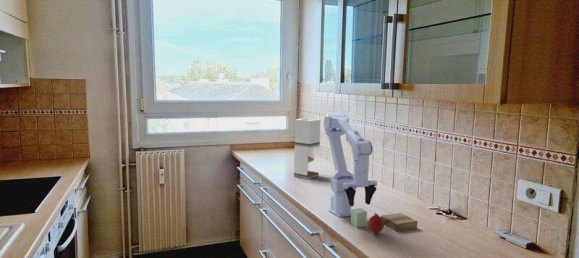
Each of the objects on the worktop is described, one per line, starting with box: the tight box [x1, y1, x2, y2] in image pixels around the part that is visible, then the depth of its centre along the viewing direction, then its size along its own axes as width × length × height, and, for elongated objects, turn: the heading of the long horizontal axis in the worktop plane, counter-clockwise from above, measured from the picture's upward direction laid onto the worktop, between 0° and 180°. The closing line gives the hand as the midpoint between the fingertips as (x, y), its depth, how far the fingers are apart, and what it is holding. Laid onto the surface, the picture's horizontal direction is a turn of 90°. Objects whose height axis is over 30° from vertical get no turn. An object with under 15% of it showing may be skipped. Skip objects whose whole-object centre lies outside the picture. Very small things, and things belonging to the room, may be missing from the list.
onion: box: [367, 212, 385, 235], centre depth 142 cm, size 6×6×8 cm
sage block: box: [350, 208, 368, 228], centre depth 151 cm, size 4×4×6 cm
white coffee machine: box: [293, 117, 322, 180], centre depth 230 cm, size 11×11×35 cm
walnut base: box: [380, 212, 418, 233], centre depth 151 cm, size 10×10×3 cm
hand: (359, 204), depth 150 cm, fingers open, 7 cm apart
